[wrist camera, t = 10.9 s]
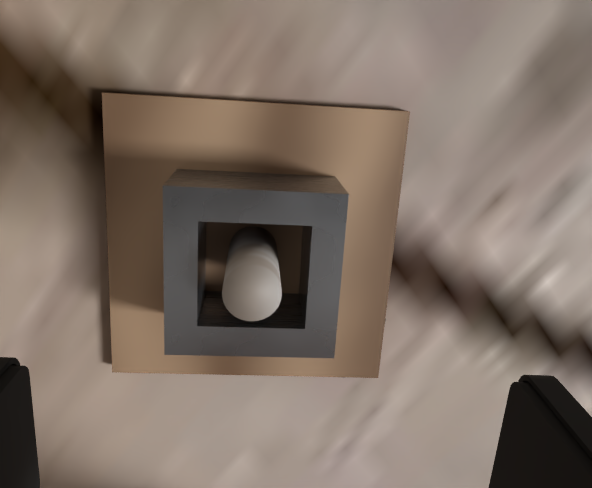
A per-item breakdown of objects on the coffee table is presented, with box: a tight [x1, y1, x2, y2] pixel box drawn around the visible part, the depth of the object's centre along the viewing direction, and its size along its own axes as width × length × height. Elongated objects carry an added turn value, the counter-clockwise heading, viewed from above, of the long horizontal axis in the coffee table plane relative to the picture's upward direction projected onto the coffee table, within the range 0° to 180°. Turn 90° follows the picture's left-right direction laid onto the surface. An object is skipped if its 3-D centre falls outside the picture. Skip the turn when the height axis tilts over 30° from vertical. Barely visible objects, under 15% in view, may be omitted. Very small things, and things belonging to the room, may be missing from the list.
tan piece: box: [102, 92, 410, 378], centre depth 21 cm, size 12×12×6 cm
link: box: [163, 169, 349, 358], centre depth 22 cm, size 6×6×4 cm
